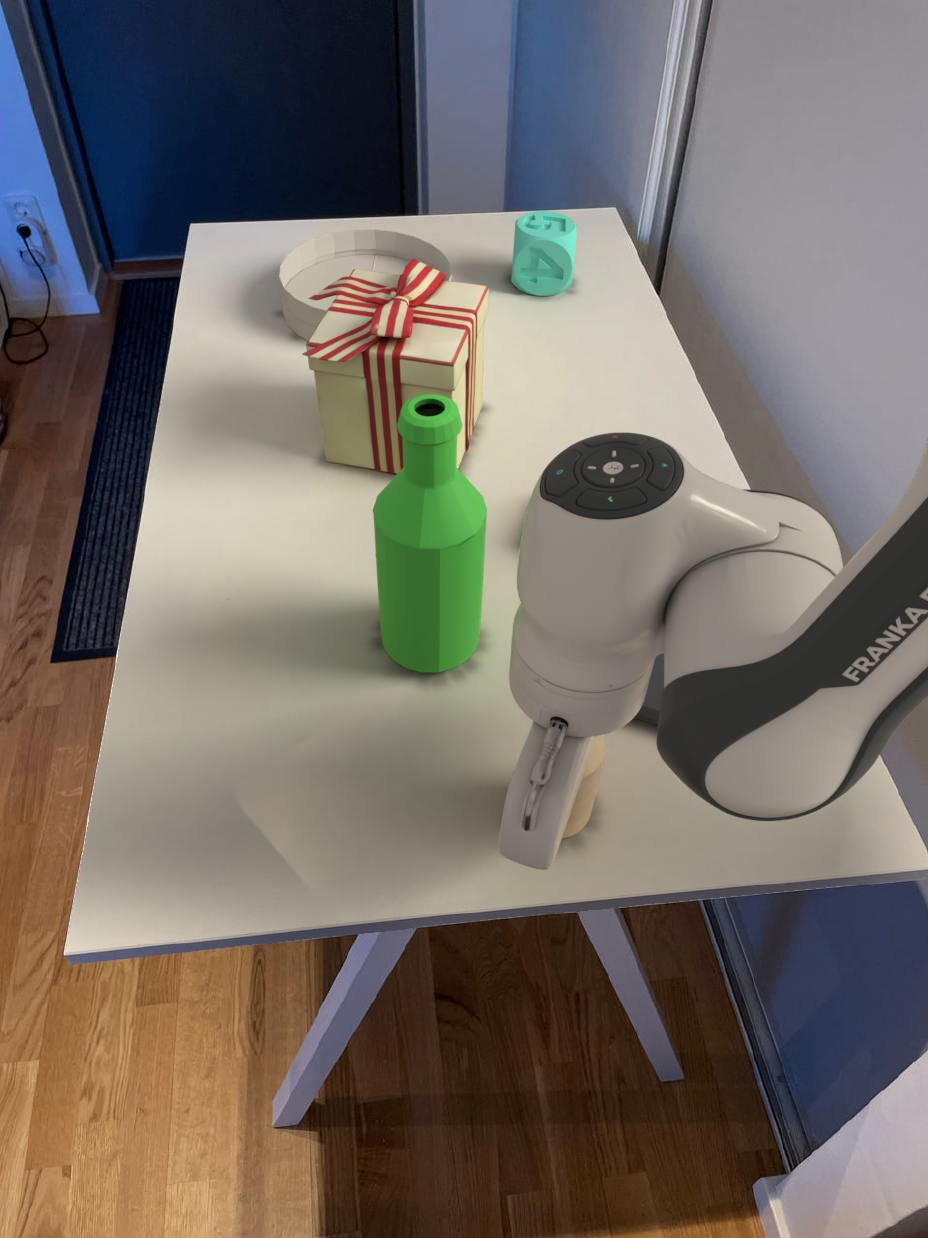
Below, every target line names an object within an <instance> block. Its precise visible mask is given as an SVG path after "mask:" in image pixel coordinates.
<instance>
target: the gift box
mask: <svg viewBox="0 0 928 1238" xmlns="http://www.w3.org/2000/svg"><path fill="white" fill-rule="evenodd" d="M445 277H446V274H444V273H442V272H440V271H438V270H436V269H434V268H431V267H429V266H428V265H426V264H424V263H422V262H420V261H418V260H416V259H412V260H411V261H410V262H409V263H408V264H407V265H406V267H405V269H404V272H403V274H402V275H398V274H389V273H382V272H374V271H366V270H357V269H354V270H353V271H352V273H351V274H350V276H349V277H342V278H340V279H338V280H337V281H335V282H333V283H332V284H330V285H329V286H327V287H326V288H324V289H323V290H322V291H320V292H319V293H318V294H316V295H314V296H312V297H310V298H309V299H311V300H321V299H323V298H327V297H330V296H335V295H336V298H335V299H334V301H333V302H332V304H331V306H330V307H329V309H328V310H327V312H326V314H325V316H324V317H323V319H322V320H321V322H320V323H319V325H318V326H317V328H316V329H315V331H314V332H313V334H312V335H311V337H310V339H309V340H307V342H306V344H305V346H306V351H305V352H303V353H302V354H301V355H302V356H305V357H307V361H308V369H309V370H310V371H313V373H314V381H315V389H316V397H317V402H318V403H317V404H318V411H319V418H320V425H321V426H320V427H321V435H322V440H323V441H322V442H323V448H324V449H323V450H324V455H325V461H326V462H327V463H331V464H337V465H338V464H339V465H345V466H350V467H356V468H363V469H367V470H368V469H369V470H374V471H378V472H385V473H392V474H398V473H399V472H400V471H401V470H402V469H403V467H404V466H403V437H402V435H401V434H400V433H399V432H398V427H397V424H398V420H399V416H400V412H401V409H402V406H403V404H404V403H406V402H407V401H408V400H409V399H412V398H414V397H416V396H421V395H425V394H436V395H441V396H445V397H447V398H449V399H452V400H453V401H454V402H455V403H456V404H457V406H458V410H459V414H460V417H461V421H462V425H463V426H462V429H461V432H460V433H459V434H458V435H457V462H456V467H457V468H458V469H459V468H460V465H461V463H462V460H463V458H464V455H465V453H466V452H468V450H469V449H470V439H471V437H472V436H473V434H474V429H475V426H476V423H477V422H478V418H479V416H480V413H481V410H482V409H483V406H484V357H485V356H484V355H485V354H484V353H485V352H484V351H485V350H484V349H485V321H486V318H487V315H488V314H489V293H490V291H489V286H488V285H484V284H476V283H469V282H461V281H452V280H451V281H446V280H444V278H445Z"/></svg>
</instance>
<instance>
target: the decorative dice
mask: <svg viewBox="0 0 928 1238" xmlns="http://www.w3.org/2000/svg"><path fill="white" fill-rule="evenodd" d="M514 223H515V224H514V225H515V226H514V238H513V239H514V240H513V249H512V250H513V251H512V263H511V265H512V266H511V281H510V282H511V283H512V284H513V286H515V288H517V289H518V290H519V291H520V292H523V293H525V294H528V295H531V296H538V297H551V296H555V295H559V294H561V293H563V292H565V291H566V290H568V289H569V287H571V286H572V282H573V278H574V277H573V276H574V270H575V263H576V262H575V261H576V252H577V251H576V250H577V237H578V236H577V235H578V233H577V232H578V227H577V226H578V225H577V223H576V222H575V221H574V220H573V218H571V217H570V216H568V215H566V214H564V213H560V212H556V211H552V210H535V211H530V212H527V213H524V214H522V215H521V216H519V217H518V218H517V219H516V220H515V222H514Z"/></svg>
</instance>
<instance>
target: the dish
mask: <svg viewBox="0 0 928 1238" xmlns="http://www.w3.org/2000/svg"><path fill="white" fill-rule="evenodd" d="M412 259H416V260H418V261H420V262H422V263H424V264H426V265H428V266H429V267H431V268H434V269H436V270H438V271H440V272H442V273H444V274H446V277H445V278H444V280H446V281H452V269H451V262H450V261H449V259H448V258H447V256H446V255H445V254H444V253H443V251H441V250H440V249H439V248H437V246H435V245H433V244H432V243H431V242H427V241H426V240H423V239H420V238H419V237H416V236H414V235H409V234H405V233H402V232H398V231H391V230H390V231H389V230H380V229H352V230H344V231H337V232H331V233H328V234H325V235H321V236H317V237H314V238H312V239H310V240H308V241H306V242H304V243H302V244H300V245H298V246H296V247H295V248H294V249H293V250H292V251H290V252H289V253H288V254H287V255H286V256H285V258H284V259H283V260H282V262H281V264H280V266H279V276H278V278H279V285H280V304H281V312H282V315H283V318H284V320H285V322H286V324H287V326H288V327H289V328H290V329H291V331H293V333H295V334H296V335H298V337H300V338H302V339H304V340H305V341H308V340H309V339H310V337H311V335H312V334H313V332H314V331H315V329H316V328H317V326H318V325H319V323H320V322H321V320H322V319H323V317H324V316H325V314H326V312H327V310H328V309H329V307H330V306H331V304H332V302H333V301H334V299H335V298H336V295H335V296H330V297H327V298H323V299H321V300H311V299H309V298H310V297H312V296H314V295H316V294H318V293H319V292H320V291H322V290H323V289H324V288H326V287H327V286H329V285H330V284H332V283H333V282H335V281H337V280H338V279H340V278H342V277H349V276H350V274H351V273H352V271H353V270H354V269H357V270H366V271H374V272H382V273H389V274H398V275H402V274H403V272H404V269H405V267H406V265H407V264H408V263H409V262H410V261H411V260H412Z"/></svg>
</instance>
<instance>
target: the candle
mask: <svg viewBox="0 0 928 1238" xmlns="http://www.w3.org/2000/svg"><path fill="white" fill-rule="evenodd" d="M605 743H606V742H605V739H604V737H603V735H599V736H596V738H595V740H594V743H593V746H592V749H591V752H590V755H589V759H588V762H587V765H586V768H585V771H584V774H583V777H582V780H581V783H580V786H579V789H578V792H577V795H576V798H575V801H574V804H573V807H572V810H571V813H570V816H569V819H568V822H567V825H566V827H565V830H564V833H563V836H562V839H565V838H569V837H572V836H574V835H576V834H578V833H580V831H582V830H583V829H584V828H585V827H586V825H587V823H588V822H589V820H590V817H591V814H592V812H593V807H594V803H595V798H596V795H597V790H598V786H599V781H600V776H601V774H602V773H601V772H602V768H603V763H604V760H605V756H606V744H605Z"/></svg>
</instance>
